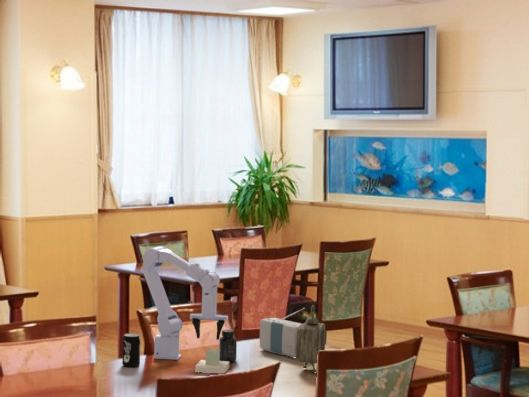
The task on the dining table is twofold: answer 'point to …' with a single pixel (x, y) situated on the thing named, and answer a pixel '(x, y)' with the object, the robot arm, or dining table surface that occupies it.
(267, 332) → the stereo radio cassette player
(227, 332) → the supplement bottle
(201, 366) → the ceramic base
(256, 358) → the dining table surface
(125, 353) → the beverage can
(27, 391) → the dining table surface
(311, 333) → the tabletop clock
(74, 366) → the dining table surface
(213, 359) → the sage block
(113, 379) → the dining table surface
